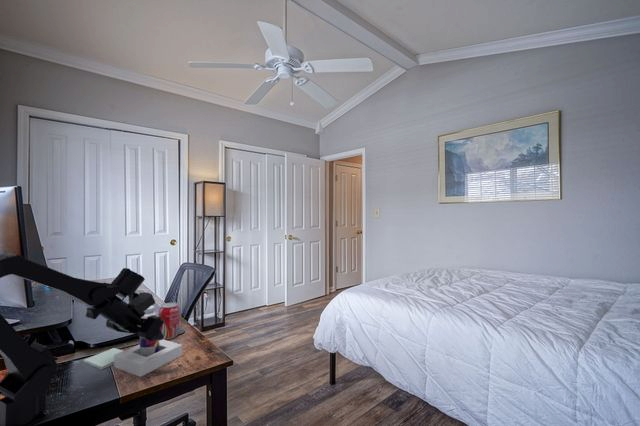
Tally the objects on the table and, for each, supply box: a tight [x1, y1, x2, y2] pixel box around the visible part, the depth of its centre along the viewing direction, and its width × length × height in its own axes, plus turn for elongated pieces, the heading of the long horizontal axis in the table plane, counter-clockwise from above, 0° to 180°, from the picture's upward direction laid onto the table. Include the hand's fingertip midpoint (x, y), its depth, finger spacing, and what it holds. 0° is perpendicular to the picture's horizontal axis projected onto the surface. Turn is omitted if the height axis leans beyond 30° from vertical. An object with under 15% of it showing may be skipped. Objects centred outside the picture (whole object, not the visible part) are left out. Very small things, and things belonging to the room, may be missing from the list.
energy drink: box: [139, 322, 159, 357], centre depth 92 cm, size 5×5×12 cm
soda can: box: [157, 301, 180, 341], centre depth 110 cm, size 7×7×12 cm
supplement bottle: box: [141, 305, 157, 319], centre depth 113 cm, size 5×5×10 cm
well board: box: [113, 339, 183, 377], centre depth 92 cm, size 14×12×4 cm
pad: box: [83, 347, 124, 370], centre depth 92 cm, size 9×9×1 cm
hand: (152, 335), depth 93 cm, fingers open, 9 cm apart
